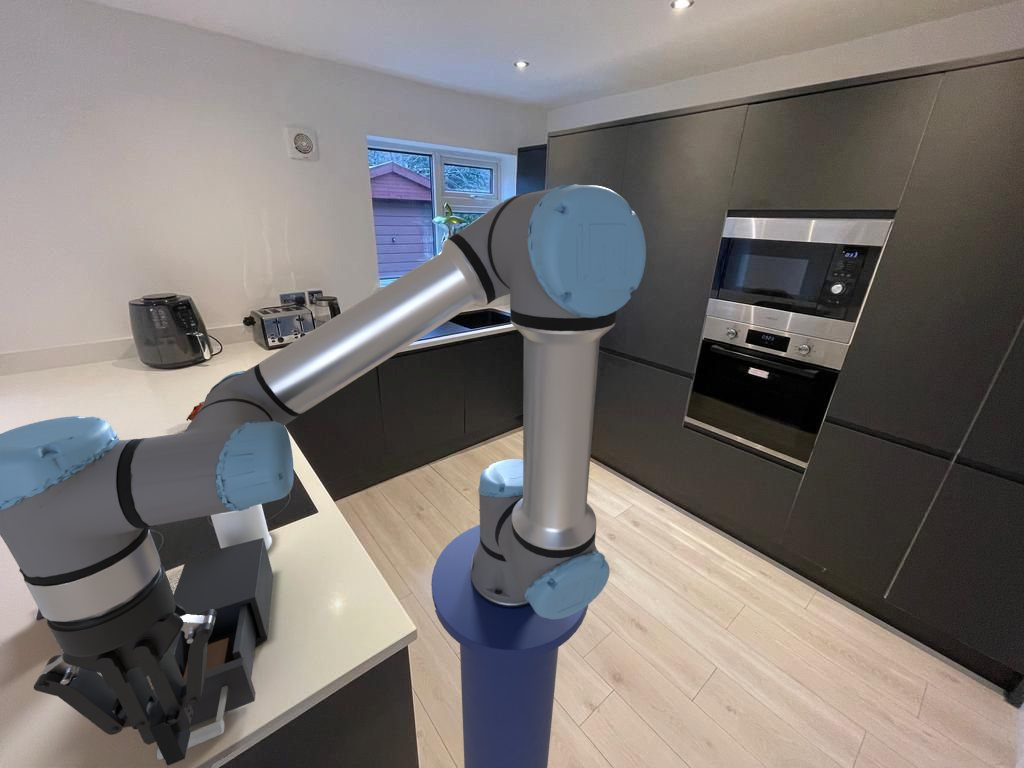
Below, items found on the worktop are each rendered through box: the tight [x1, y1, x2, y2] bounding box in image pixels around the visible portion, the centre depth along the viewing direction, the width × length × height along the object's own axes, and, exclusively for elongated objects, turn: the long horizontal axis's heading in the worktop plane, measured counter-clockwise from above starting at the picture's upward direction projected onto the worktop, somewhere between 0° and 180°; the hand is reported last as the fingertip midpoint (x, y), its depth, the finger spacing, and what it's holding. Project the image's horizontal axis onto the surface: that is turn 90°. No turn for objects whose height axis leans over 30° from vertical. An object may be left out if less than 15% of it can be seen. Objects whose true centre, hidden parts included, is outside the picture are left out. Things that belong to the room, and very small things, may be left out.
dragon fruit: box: [185, 401, 204, 422], centre depth 130 cm, size 8×8×12 cm
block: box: [183, 638, 235, 679], centre depth 54 cm, size 4×4×4 cm
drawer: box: [152, 603, 257, 761], centre depth 53 cm, size 18×10×7 cm, turn 26°
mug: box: [210, 504, 273, 551], centre depth 80 cm, size 12×8×12 cm
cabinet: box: [173, 538, 274, 644], centre depth 65 cm, size 14×11×9 cm
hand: (179, 748), depth 43 cm, fingers closed
